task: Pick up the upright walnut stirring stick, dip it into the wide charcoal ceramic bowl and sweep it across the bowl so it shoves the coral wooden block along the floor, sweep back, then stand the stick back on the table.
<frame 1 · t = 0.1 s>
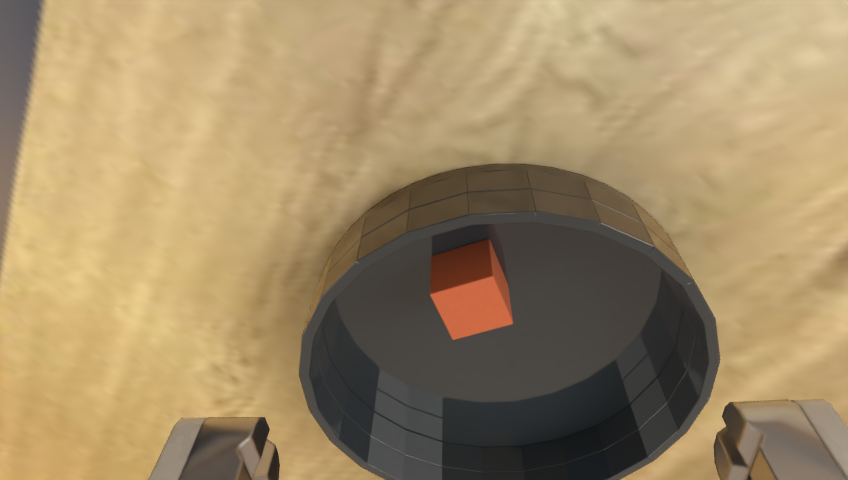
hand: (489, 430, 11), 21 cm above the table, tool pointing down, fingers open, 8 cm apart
bowl: (497, 327, 37), on the table
block: (470, 270, 34), point 1 cm above the table, touching bowl
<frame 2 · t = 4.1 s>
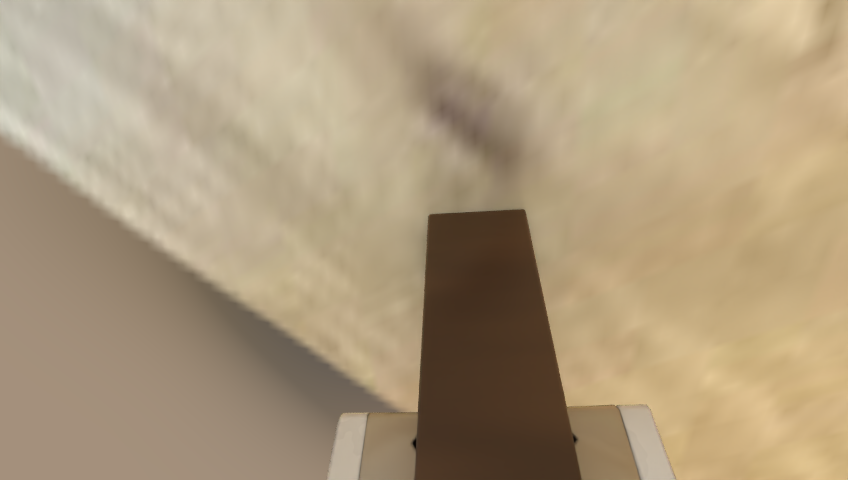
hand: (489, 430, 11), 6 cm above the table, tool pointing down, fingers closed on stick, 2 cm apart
stick: (477, 250, 15), on the table, touching gripper
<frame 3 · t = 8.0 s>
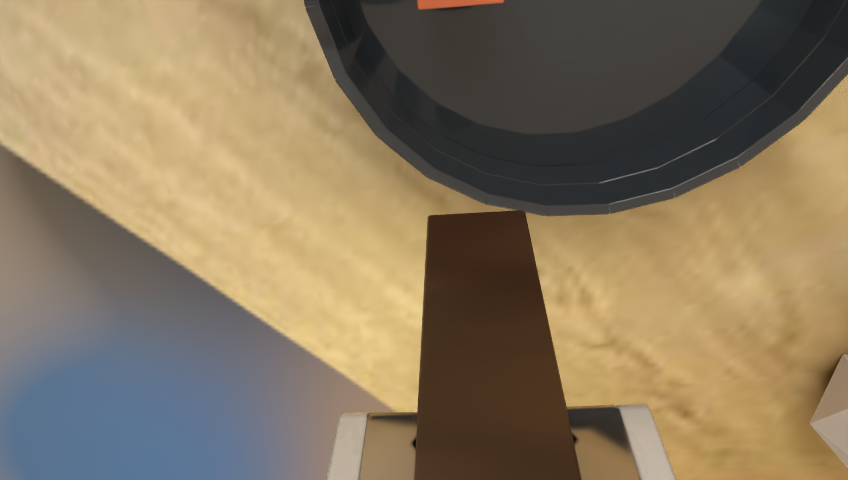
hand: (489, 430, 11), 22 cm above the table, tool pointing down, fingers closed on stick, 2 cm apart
stick: (477, 251, 15), point 17 cm above the table, touching gripper
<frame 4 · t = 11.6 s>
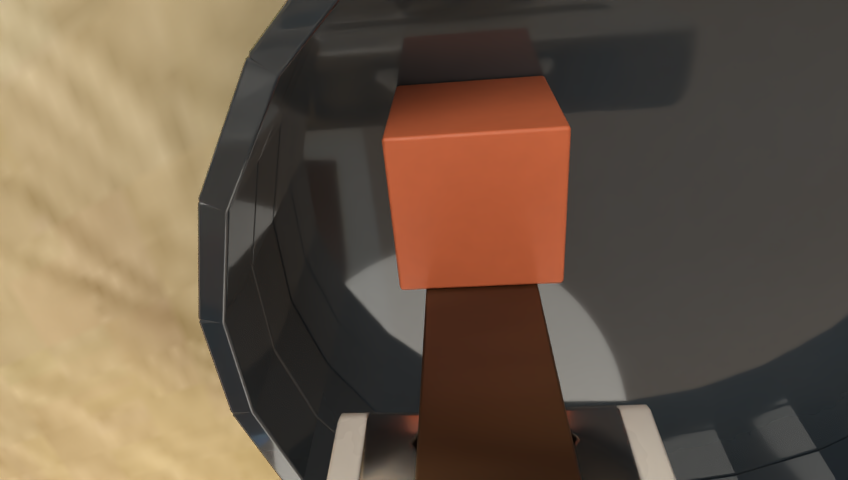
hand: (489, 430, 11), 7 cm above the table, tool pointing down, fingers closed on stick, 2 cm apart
bowl: (661, 237, 17), on the table
block: (472, 149, 15), point 1 cm above the table, touching bowl
stick: (478, 268, 15), point 2 cm above the table, touching gripper
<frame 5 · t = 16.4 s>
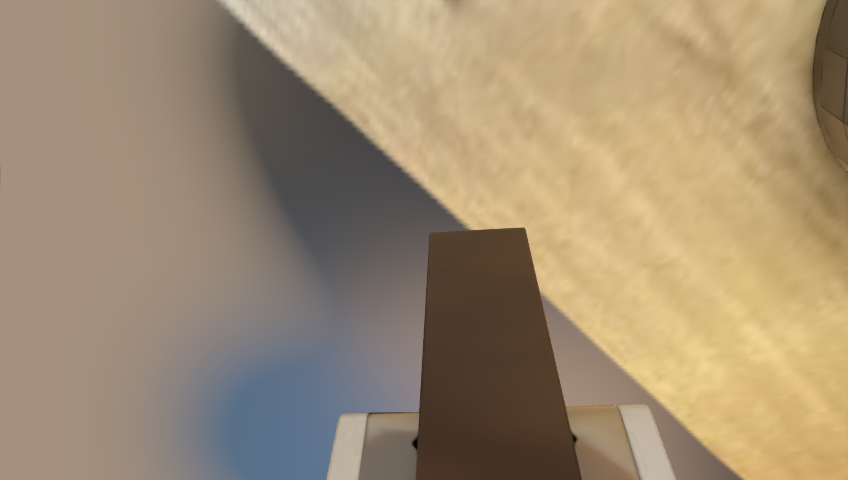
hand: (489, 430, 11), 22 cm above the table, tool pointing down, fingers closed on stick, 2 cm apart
stick: (478, 268, 15), point 17 cm above the table, touching gripper
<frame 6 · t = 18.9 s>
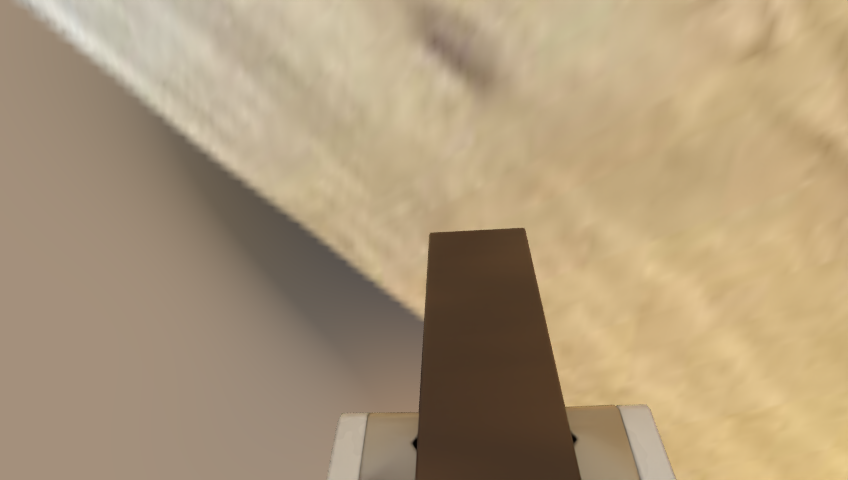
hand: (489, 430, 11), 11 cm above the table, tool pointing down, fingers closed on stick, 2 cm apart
stick: (478, 269, 15), point 6 cm above the table, touching gripper
when the fingers open (5 cm above the table, at t = 20.4 s): stick stays where it is, on the table.
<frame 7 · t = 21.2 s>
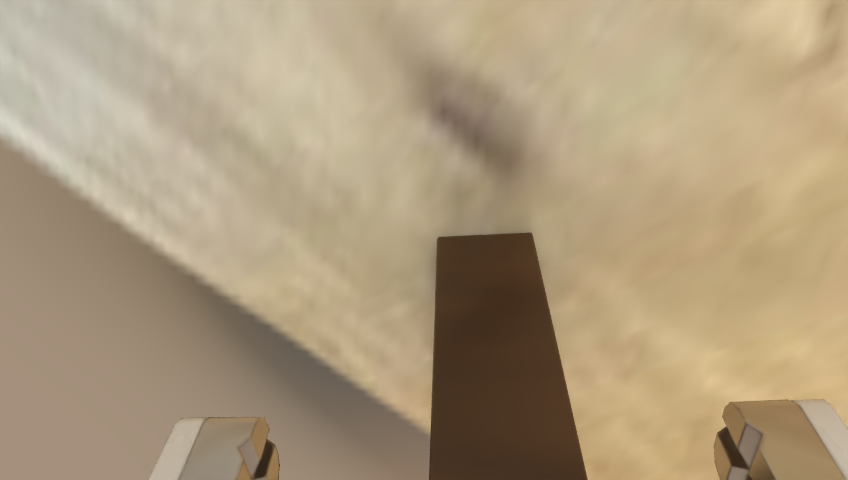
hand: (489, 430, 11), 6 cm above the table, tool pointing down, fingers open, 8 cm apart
stick: (485, 272, 15), on the table
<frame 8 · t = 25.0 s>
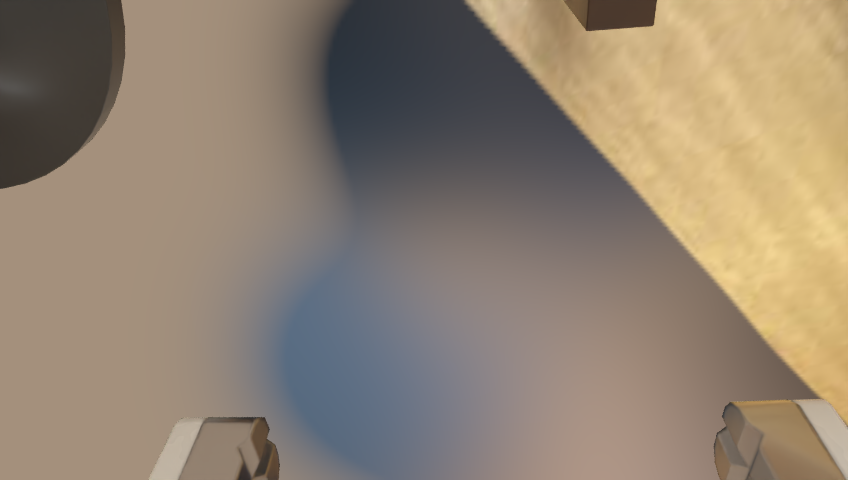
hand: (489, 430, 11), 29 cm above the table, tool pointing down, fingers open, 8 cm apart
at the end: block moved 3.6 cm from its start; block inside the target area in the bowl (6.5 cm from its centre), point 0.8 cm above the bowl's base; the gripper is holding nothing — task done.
